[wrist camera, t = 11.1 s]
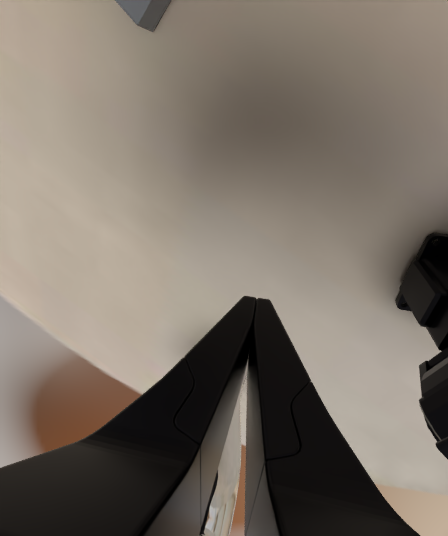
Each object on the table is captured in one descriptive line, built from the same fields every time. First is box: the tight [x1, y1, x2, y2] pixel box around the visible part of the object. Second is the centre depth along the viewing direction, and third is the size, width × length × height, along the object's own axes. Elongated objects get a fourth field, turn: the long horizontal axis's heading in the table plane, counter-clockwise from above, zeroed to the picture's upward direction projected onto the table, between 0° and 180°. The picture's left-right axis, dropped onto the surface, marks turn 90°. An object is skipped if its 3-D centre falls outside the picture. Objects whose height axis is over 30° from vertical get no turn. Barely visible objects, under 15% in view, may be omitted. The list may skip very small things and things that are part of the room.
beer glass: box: [199, 362, 248, 536], centre depth 24 cm, size 7×7×15 cm
